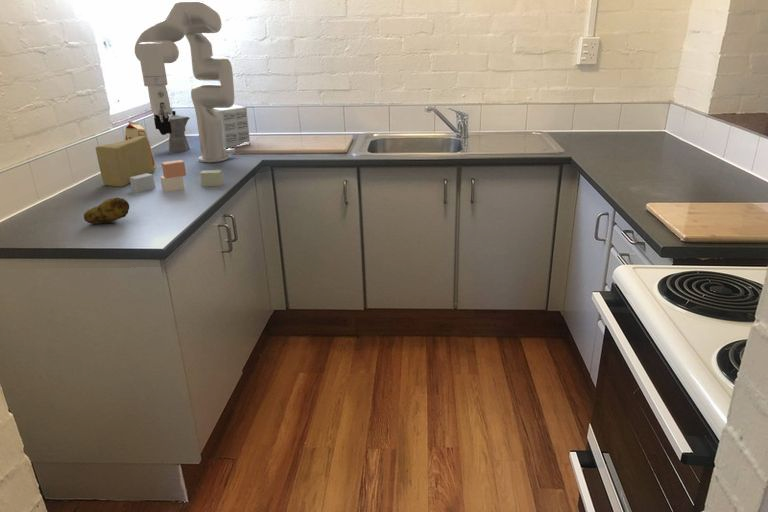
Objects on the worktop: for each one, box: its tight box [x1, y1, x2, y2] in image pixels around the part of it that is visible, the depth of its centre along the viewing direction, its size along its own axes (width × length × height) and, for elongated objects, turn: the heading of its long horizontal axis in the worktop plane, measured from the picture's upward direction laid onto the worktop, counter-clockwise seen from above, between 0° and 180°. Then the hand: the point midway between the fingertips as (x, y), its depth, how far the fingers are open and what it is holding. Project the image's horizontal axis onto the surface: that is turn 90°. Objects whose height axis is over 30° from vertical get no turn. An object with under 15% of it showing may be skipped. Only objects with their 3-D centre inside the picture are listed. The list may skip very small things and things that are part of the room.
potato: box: [83, 197, 130, 225], centre depth 173 cm, size 8×13×8 cm, turn 78°
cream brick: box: [159, 175, 185, 193], centre depth 207 cm, size 7×4×5 cm, turn 122°
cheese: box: [95, 136, 155, 188], centre depth 219 cm, size 22×10×15 cm, turn 160°
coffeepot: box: [158, 110, 191, 153], centre depth 263 cm, size 15×9×18 cm, turn 103°
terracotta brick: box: [161, 159, 187, 178], centre depth 205 cm, size 7×4×5 cm, turn 122°
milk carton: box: [124, 120, 157, 169], centre depth 231 cm, size 9×9×20 cm
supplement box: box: [214, 103, 251, 149], centre depth 275 cm, size 17×13×18 cm
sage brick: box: [199, 169, 224, 187], centre depth 212 cm, size 7×4×5 cm, turn 92°
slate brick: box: [130, 173, 156, 193], centre depth 207 cm, size 7×4×5 cm, turn 142°
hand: (163, 131), depth 202 cm, fingers open, 9 cm apart
